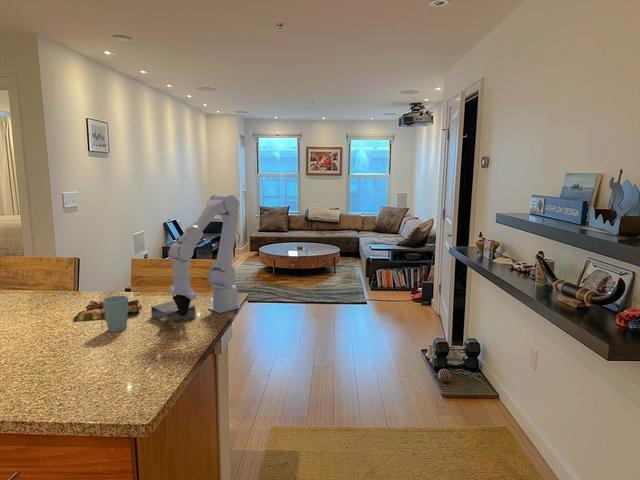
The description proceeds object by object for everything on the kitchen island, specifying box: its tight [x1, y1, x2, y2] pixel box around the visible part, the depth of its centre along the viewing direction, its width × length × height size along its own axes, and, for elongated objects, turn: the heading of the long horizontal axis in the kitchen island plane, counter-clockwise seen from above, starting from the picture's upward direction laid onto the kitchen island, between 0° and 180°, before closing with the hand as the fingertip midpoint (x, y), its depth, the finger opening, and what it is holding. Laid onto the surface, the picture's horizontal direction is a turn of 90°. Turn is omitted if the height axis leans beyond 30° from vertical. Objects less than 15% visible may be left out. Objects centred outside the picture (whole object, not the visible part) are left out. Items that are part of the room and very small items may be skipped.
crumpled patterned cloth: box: [73, 299, 143, 322], centre depth 151 cm, size 22×19×4 cm
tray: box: [169, 309, 193, 321], centre depth 146 cm, size 9×10×2 cm
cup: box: [101, 295, 129, 333], centre depth 134 cm, size 8×8×10 cm
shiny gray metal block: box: [150, 300, 196, 324], centre depth 146 cm, size 11×11×4 cm
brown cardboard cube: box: [158, 317, 174, 333], centre depth 134 cm, size 3×3×4 cm
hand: (183, 315), depth 142 cm, fingers closed
